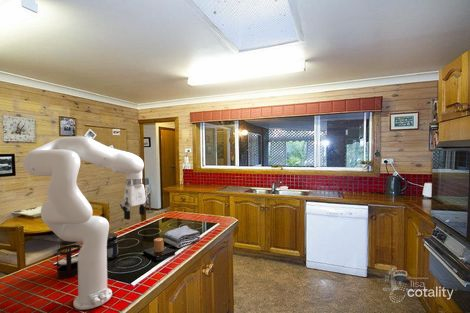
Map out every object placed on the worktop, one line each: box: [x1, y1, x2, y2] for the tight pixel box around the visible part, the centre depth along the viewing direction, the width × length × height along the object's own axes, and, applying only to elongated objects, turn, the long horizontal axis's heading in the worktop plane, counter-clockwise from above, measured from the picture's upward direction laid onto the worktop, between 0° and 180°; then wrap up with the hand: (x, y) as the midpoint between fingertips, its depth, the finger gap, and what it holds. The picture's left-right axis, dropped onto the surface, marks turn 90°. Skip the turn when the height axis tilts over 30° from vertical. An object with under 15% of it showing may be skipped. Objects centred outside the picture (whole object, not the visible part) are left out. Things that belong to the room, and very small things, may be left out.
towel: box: [163, 225, 201, 249], centre depth 150 cm, size 15×18×8 cm
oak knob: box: [153, 237, 165, 252], centre depth 131 cm, size 5×5×6 cm
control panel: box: [142, 245, 176, 263], centre depth 131 cm, size 14×11×3 cm
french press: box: [56, 237, 83, 280], centre depth 111 cm, size 12×9×23 cm
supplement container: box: [107, 232, 119, 262], centre depth 128 cm, size 10×10×12 cm
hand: (134, 216), depth 119 cm, fingers open, 9 cm apart
